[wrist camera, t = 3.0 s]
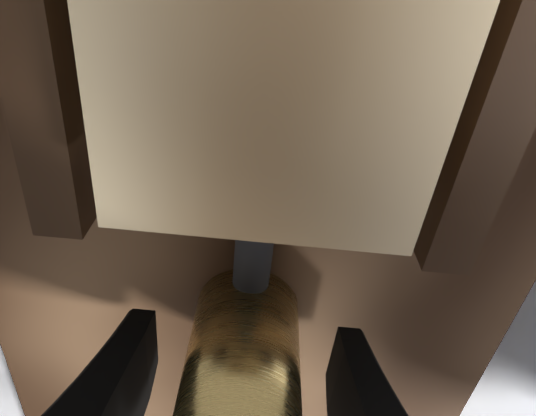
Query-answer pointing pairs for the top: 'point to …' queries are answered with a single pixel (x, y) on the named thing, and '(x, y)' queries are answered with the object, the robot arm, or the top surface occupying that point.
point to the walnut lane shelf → (284, 256)
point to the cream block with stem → (269, 150)
